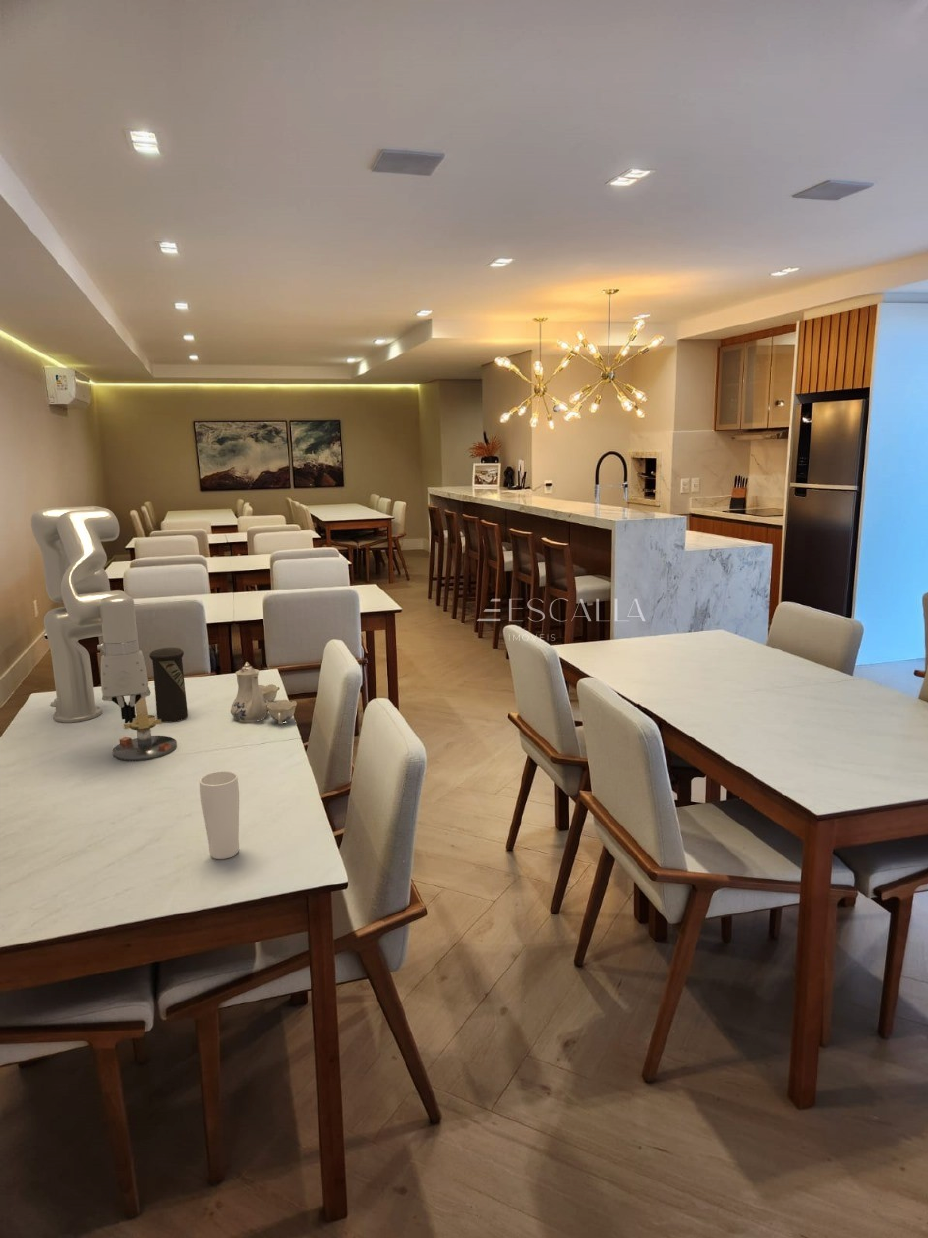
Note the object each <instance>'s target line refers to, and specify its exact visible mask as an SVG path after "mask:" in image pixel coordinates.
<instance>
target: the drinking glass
mask: <svg viewBox="0 0 928 1238" xmlns="http://www.w3.org/2000/svg"><path fill="white" fill-rule="evenodd" d="M238 779H239V778H238V775H237V773H235V772H232V771H227V770H222V771H215V772H214V771H213V772H210V773H207V774H205V775H203V776H202V777H201V778H200V779H199V795H200V804H201V810H202V815H203V821H204V824H205V825H204V826H205V827H204V828H205V831H206V836H207V843H208V851H209V856H210V857H211V858H213V859H216V860H227V859H230V858H232V857H234V856H236V855H237V854H239V851H240V839H239V837H240V836H239V835H240V834H239V833H240V828H239V827H240V789H239V788H240V787H239V780H238Z"/></svg>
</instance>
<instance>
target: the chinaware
mask: <svg viewBox="0 0 928 1238" xmlns="http://www.w3.org/2000/svg"><path fill="white" fill-rule="evenodd" d="M259 673H260V670H259V669H256V668H255V667H253V666H252V665H251V664H250V663H249V662H248V661H246V662H245V664H244V666H242V668H241V669H239V670H238V671H235V675H236V679H237V680H236V681H237V685H238V687H237V688H238V689H237V693H236V697H235V698H234V701H233V703H232V704H231V707H230V713H231V715H232V716H233V717H234V718H235V719H236V720H237V722H238V721H240V722H239V723H244V722H249V723H253V722H252V721H257V720H260V721H262V720H261V719H263V718H264V717H265V716H266V717H267V714H268V713H269V716H270V717H271V718H272V720H274V721H275V722H279V725H284V724H283V722H285V721H288V722H289V720H291V719H292V718H293V716H294V714H295V711H296V707H298V706H297V705H298V702H297V701H296V700H292V701H290V700H288V699H280V700H277V701H276V702H275V700H276V697H277V693H278V691H279V690H280V687H279V686H277V685H276V684H272V683H271V684H268V685H266V686H265V685H263V684H259ZM236 720H235V721H236ZM263 720H264V719H263ZM257 722H258V721H257Z"/></svg>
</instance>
